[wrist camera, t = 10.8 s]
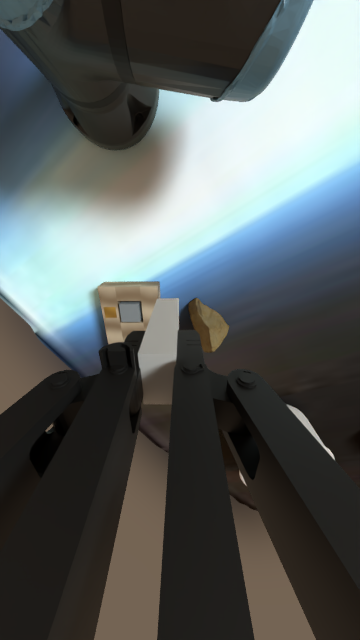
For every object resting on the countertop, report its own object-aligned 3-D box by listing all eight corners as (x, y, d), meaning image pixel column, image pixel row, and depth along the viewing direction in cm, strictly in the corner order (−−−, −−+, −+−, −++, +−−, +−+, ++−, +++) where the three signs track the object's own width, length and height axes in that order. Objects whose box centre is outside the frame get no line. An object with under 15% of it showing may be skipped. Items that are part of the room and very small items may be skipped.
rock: (174, 304, 43) (185, 345, 46) (199, 307, 36) (210, 355, 38) (210, 290, 48) (218, 327, 51) (238, 290, 41) (245, 333, 44)
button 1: (123, 298, 43) (118, 304, 40) (141, 298, 43) (138, 304, 40) (125, 315, 45) (121, 321, 42) (143, 315, 45) (140, 321, 42)
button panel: (104, 281, 43) (97, 287, 39) (159, 281, 43) (157, 286, 39) (122, 386, 56) (118, 397, 52) (165, 386, 56) (163, 397, 52)
